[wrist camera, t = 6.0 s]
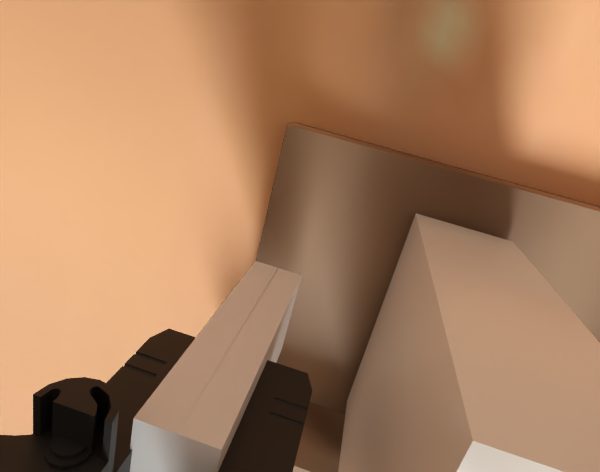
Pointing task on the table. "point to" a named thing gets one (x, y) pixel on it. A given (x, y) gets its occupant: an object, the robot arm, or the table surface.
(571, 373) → the bookend
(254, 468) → the robot arm
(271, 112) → the table surface
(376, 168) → the rack
